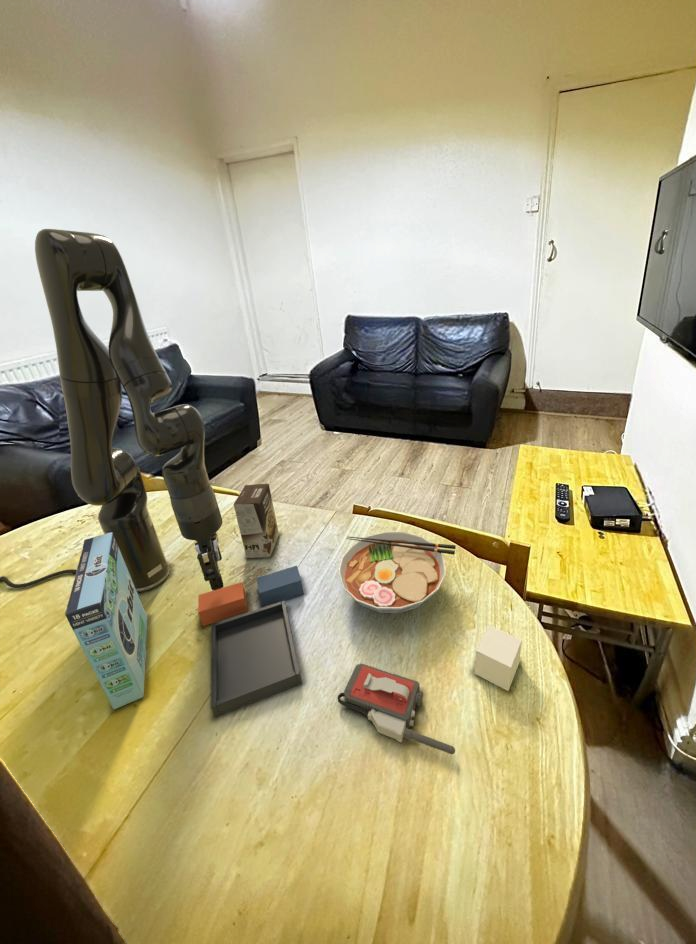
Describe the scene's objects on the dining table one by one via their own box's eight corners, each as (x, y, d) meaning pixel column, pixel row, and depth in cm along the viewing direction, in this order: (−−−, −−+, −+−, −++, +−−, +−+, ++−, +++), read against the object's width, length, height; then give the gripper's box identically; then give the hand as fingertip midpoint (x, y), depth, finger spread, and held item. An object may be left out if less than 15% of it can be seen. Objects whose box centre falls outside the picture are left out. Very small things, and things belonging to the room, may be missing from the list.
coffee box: (271, 557, 102) (259, 503, 96) (245, 558, 103) (231, 504, 96) (280, 534, 111) (269, 482, 104) (256, 534, 111) (244, 483, 104)
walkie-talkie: (331, 717, 67) (453, 764, 60) (328, 700, 65) (453, 747, 58) (354, 669, 74) (465, 706, 67) (352, 652, 72) (465, 689, 65)
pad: (202, 626, 85) (197, 612, 83) (203, 608, 89) (198, 594, 87) (247, 611, 88) (244, 598, 86) (246, 595, 92) (242, 581, 90)
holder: (214, 717, 68) (211, 707, 67) (214, 633, 83) (211, 623, 82) (302, 683, 73) (300, 673, 71) (286, 609, 88) (284, 600, 86)
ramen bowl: (320, 623, 84) (315, 593, 80) (356, 548, 104) (353, 522, 100) (443, 648, 77) (443, 616, 74) (456, 563, 97) (457, 535, 94)
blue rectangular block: (262, 607, 88) (258, 593, 87) (259, 590, 93) (256, 577, 91) (303, 593, 91) (301, 580, 90) (299, 578, 95) (296, 565, 94)
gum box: (122, 626, 86) (82, 539, 76) (149, 616, 88) (114, 530, 78) (112, 711, 70) (60, 614, 60) (146, 697, 72) (100, 601, 62)
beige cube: (519, 663, 74) (522, 639, 71) (508, 691, 69) (511, 667, 67) (486, 647, 77) (488, 624, 74) (474, 673, 72) (475, 650, 70)
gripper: (176, 495, 83) (198, 557, 89) (172, 536, 70) (197, 605, 77) (216, 485, 85) (234, 547, 92) (218, 523, 73) (238, 591, 80)
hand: (217, 573), depth 84 cm, fingers open, 8 cm apart
